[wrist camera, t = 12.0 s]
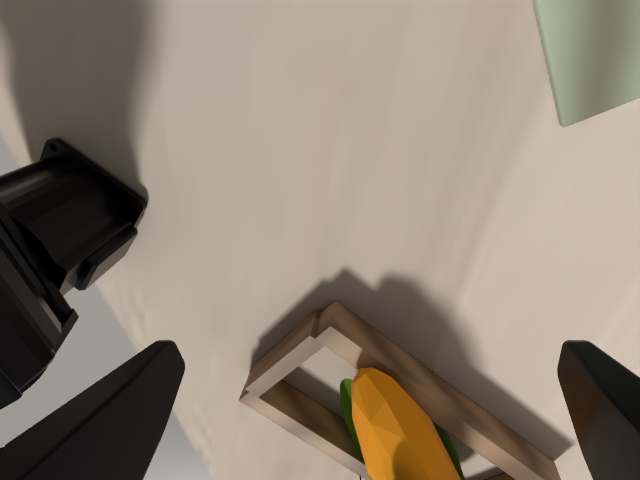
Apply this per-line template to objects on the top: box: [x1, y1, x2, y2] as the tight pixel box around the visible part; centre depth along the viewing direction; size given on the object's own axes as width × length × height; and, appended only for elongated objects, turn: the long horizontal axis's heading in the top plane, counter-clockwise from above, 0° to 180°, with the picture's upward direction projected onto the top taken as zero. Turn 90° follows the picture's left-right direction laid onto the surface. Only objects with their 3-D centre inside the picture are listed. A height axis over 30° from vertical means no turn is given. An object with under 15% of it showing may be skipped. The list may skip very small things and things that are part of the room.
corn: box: [340, 367, 465, 480], centre depth 26 cm, size 7×8×20 cm
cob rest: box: [239, 300, 561, 480], centre depth 29 cm, size 24×11×2 cm, turn 52°
